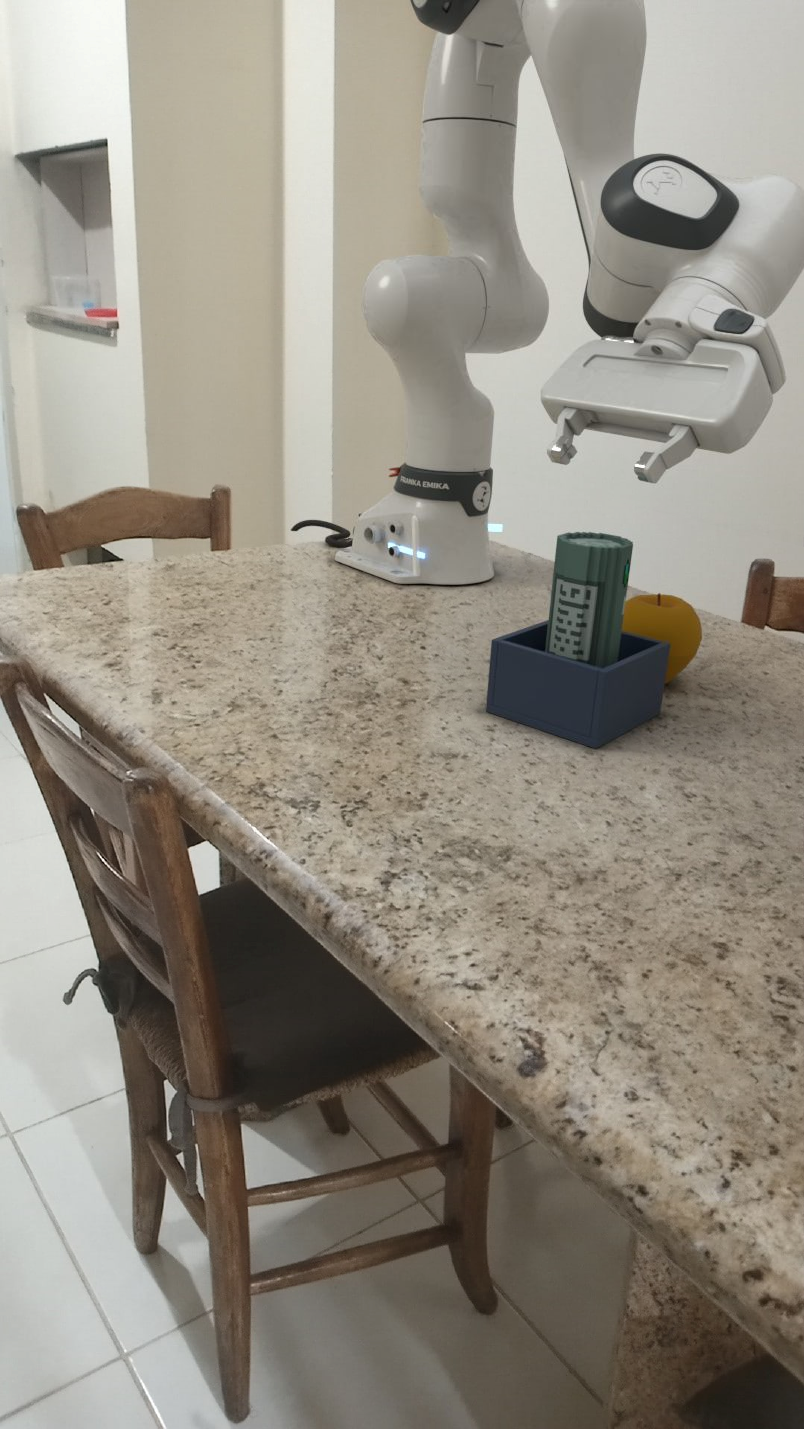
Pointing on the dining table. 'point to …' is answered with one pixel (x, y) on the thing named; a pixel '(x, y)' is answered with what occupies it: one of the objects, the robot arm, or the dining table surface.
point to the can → (588, 597)
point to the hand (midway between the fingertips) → (597, 467)
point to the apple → (665, 627)
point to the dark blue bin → (576, 686)
